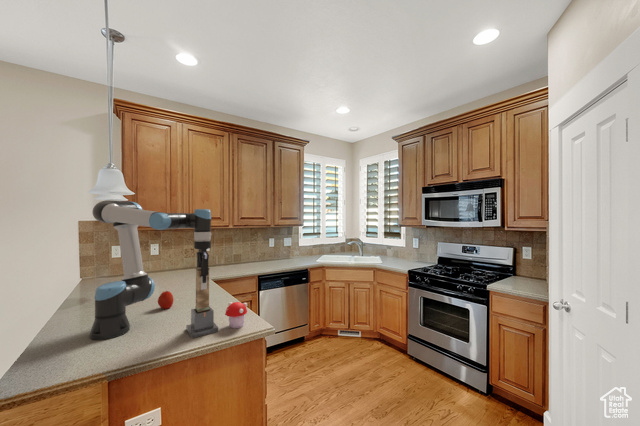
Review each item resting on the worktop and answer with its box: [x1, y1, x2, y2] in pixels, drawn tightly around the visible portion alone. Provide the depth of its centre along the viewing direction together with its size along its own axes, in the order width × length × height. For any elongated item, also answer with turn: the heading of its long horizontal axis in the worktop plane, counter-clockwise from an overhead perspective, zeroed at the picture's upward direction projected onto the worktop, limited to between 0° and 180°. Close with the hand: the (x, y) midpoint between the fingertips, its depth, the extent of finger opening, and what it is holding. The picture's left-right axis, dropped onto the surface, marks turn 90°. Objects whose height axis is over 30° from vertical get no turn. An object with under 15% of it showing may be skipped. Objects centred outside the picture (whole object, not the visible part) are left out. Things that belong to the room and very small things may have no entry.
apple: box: [157, 290, 174, 310], centre depth 164 cm, size 8×8×11 cm
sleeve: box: [185, 305, 219, 339], centre depth 132 cm, size 12×12×10 cm
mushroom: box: [224, 301, 248, 329], centre depth 138 cm, size 11×11×12 cm
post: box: [194, 266, 210, 312], centre depth 132 cm, size 5×5×20 cm
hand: (202, 287), depth 132 cm, fingers closed on post, 5 cm apart
